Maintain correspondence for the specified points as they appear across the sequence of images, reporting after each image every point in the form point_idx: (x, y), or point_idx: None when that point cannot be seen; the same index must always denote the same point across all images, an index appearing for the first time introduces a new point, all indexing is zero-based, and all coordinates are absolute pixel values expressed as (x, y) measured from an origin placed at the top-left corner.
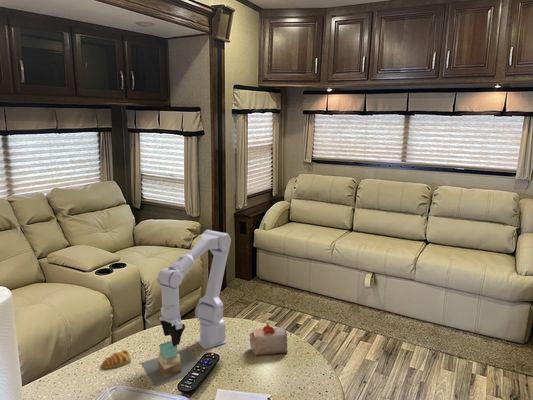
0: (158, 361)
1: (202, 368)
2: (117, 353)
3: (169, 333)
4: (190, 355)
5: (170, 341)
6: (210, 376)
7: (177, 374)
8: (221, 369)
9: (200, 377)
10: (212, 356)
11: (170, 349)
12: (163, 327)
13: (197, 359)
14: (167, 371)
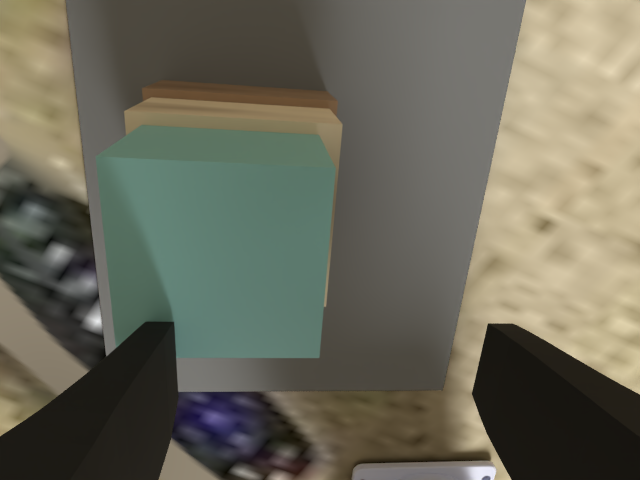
0: (325, 102)
1: None
2: None
3: (487, 394)
4: (344, 370)
5: (313, 329)
6: (22, 377)
7: None
8: None
9: (42, 320)
10: (252, 469)
11: (111, 250)
12: (594, 411)
13: (264, 388)
14: None
